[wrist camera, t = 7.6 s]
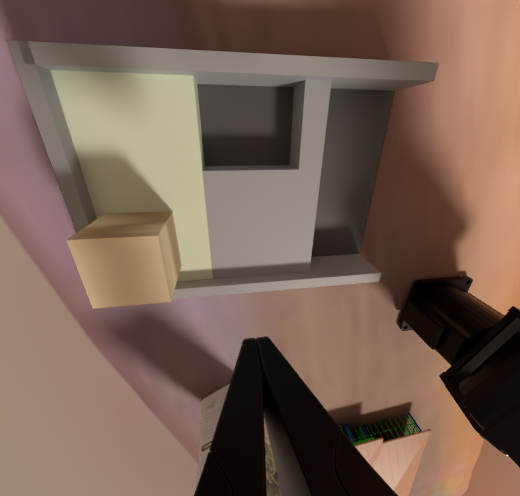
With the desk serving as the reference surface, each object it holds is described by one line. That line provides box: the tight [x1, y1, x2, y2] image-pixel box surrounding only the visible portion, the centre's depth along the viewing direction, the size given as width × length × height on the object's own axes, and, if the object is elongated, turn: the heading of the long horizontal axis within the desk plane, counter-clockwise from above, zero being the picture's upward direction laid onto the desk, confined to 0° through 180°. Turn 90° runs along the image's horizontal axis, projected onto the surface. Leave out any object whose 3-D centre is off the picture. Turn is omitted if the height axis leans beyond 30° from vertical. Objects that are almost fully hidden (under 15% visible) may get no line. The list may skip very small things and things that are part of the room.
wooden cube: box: [67, 211, 181, 308], centre depth 14 cm, size 4×4×4 cm
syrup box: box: [196, 384, 282, 496], centre depth 22 cm, size 6×6×14 cm
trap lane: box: [6, 40, 439, 299], centre depth 16 cm, size 20×14×4 cm
